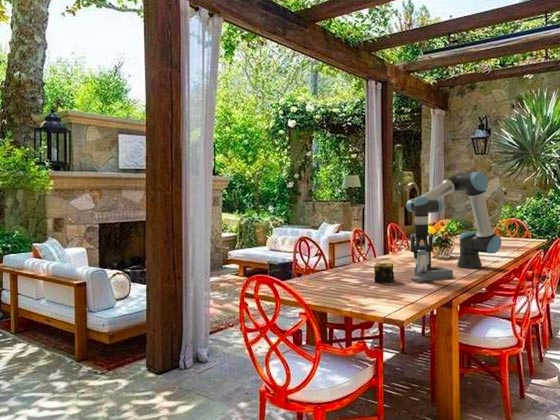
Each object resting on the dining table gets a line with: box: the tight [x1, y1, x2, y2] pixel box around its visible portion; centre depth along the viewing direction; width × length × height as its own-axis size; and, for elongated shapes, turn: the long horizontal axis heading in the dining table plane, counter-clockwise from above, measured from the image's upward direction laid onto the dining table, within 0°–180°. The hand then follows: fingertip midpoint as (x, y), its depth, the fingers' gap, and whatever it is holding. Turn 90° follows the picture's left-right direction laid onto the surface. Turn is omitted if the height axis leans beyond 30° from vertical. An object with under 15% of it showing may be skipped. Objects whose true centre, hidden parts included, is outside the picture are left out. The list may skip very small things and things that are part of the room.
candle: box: [373, 262, 395, 284], centre depth 279 cm, size 10×10×10 cm
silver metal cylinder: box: [417, 250, 427, 274], centre depth 276 cm, size 6×6×13 cm
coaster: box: [411, 277, 435, 284], centre depth 276 cm, size 9×9×1 cm
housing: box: [414, 265, 454, 280], centre depth 289 cm, size 16×16×4 cm
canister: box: [415, 243, 432, 268], centre depth 304 cm, size 10×10×18 cm
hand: (422, 263), depth 276 cm, fingers closed on silver metal cylinder, 6 cm apart
